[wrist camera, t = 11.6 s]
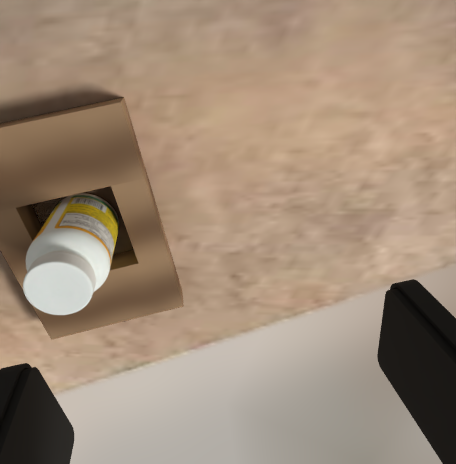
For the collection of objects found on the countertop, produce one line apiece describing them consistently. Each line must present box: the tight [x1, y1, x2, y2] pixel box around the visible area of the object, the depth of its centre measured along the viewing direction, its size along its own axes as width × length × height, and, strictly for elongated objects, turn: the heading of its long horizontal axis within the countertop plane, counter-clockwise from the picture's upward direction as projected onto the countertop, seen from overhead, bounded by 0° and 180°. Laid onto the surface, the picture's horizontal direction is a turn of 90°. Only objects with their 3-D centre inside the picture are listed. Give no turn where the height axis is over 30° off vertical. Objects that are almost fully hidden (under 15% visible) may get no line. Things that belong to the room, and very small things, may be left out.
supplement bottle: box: [23, 193, 119, 315], centre depth 26 cm, size 5×5×10 cm
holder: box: [0, 97, 183, 340], centre depth 29 cm, size 18×12×2 cm, turn 10°
